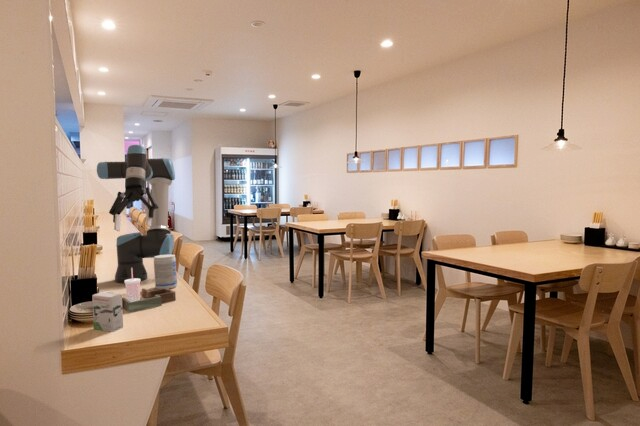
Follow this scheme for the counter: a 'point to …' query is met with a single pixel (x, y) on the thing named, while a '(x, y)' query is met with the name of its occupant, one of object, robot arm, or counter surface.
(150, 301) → the divided tray
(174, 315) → the counter surface
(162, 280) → the supplement tub
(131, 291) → the beverage cup
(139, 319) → the counter surface
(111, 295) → the ink box
